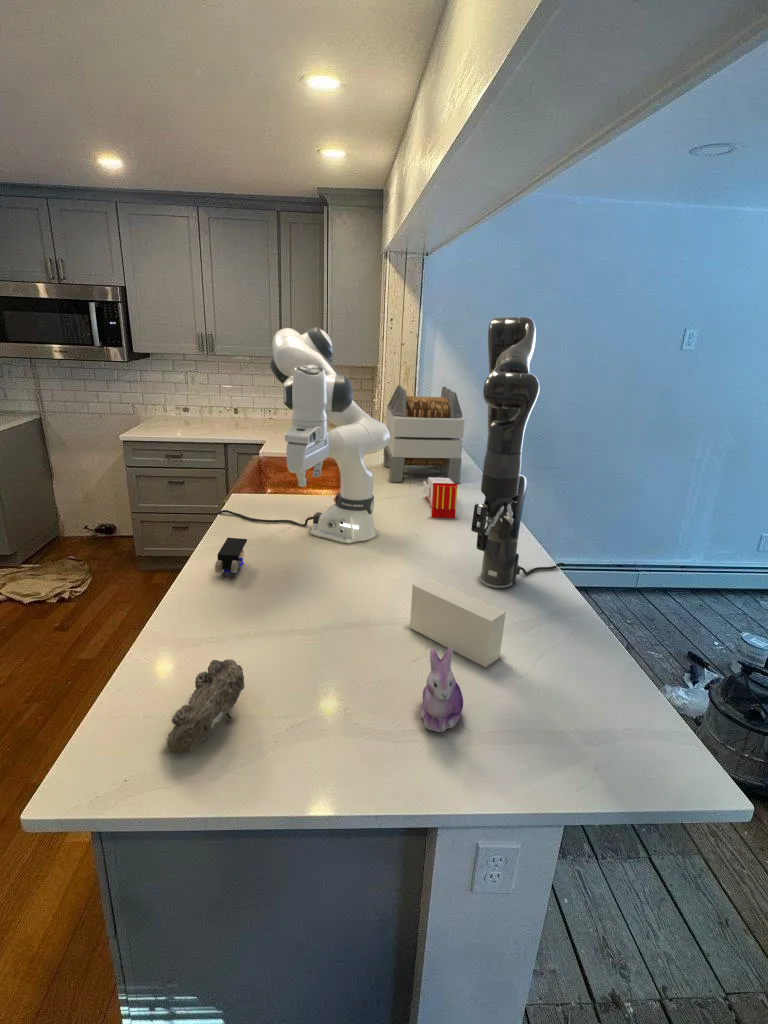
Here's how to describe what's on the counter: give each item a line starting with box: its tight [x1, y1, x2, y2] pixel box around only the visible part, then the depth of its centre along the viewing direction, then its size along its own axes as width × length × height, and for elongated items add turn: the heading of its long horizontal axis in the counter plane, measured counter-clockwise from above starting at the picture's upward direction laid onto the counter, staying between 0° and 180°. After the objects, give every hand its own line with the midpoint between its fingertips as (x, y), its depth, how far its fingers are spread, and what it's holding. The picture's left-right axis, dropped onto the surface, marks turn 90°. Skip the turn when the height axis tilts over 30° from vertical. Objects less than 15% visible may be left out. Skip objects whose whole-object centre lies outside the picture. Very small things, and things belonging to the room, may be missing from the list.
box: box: [409, 577, 506, 668], centre depth 134 cm, size 23×6×12 cm, turn 46°
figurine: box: [420, 647, 464, 733], centre depth 108 cm, size 9×10×15 cm
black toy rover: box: [214, 537, 248, 578], centre depth 166 cm, size 7×8×15 cm
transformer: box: [383, 384, 465, 484], centre depth 268 cm, size 34×33×41 cm
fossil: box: [166, 658, 245, 754], centre depth 106 cm, size 22×10×15 cm
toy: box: [422, 476, 458, 519], centre depth 227 cm, size 12×13×30 cm
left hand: (309, 481), depth 151 cm, fingers open, 8 cm apart
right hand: (492, 544), depth 122 cm, fingers open, 8 cm apart
